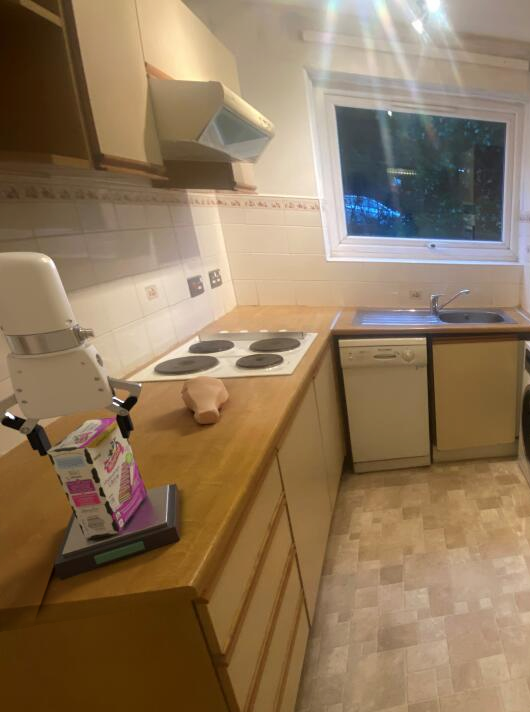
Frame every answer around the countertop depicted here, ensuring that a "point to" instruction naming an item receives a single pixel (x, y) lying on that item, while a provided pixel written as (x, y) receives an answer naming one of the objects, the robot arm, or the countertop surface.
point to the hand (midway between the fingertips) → (88, 443)
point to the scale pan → (143, 520)
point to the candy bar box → (99, 476)
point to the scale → (121, 543)
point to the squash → (204, 398)
